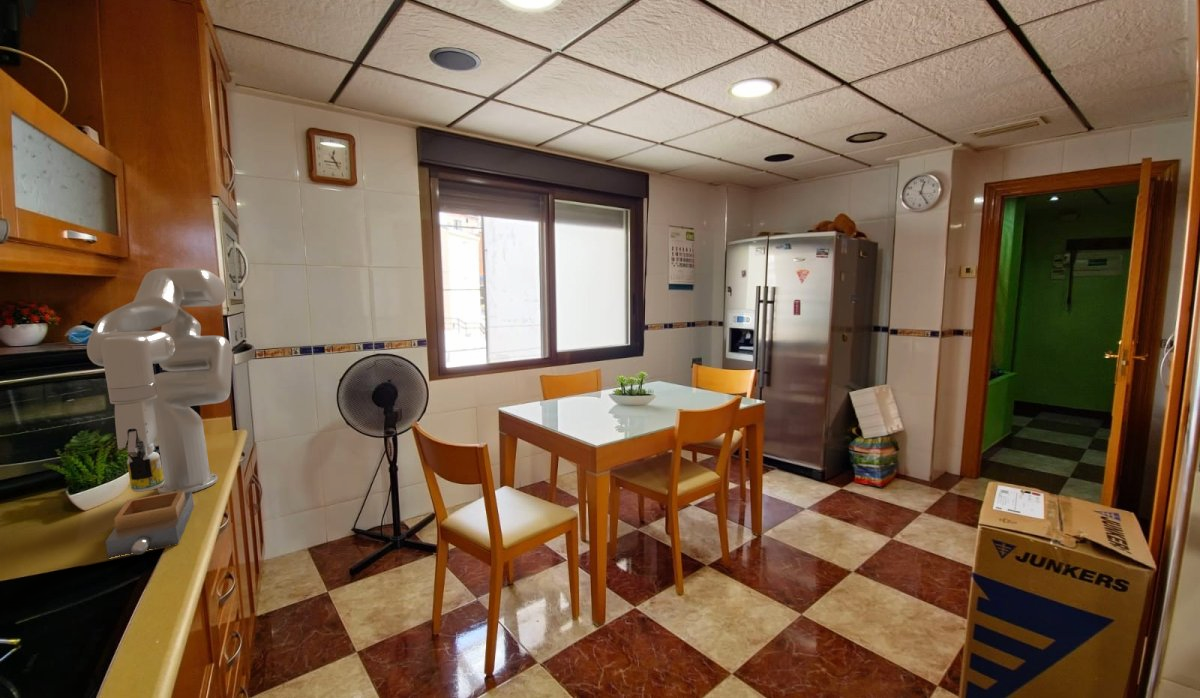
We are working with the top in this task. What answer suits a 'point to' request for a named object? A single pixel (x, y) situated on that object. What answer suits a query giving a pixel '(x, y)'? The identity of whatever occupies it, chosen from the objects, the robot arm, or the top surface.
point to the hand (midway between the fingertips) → (145, 472)
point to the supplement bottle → (157, 474)
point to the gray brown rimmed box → (150, 523)
